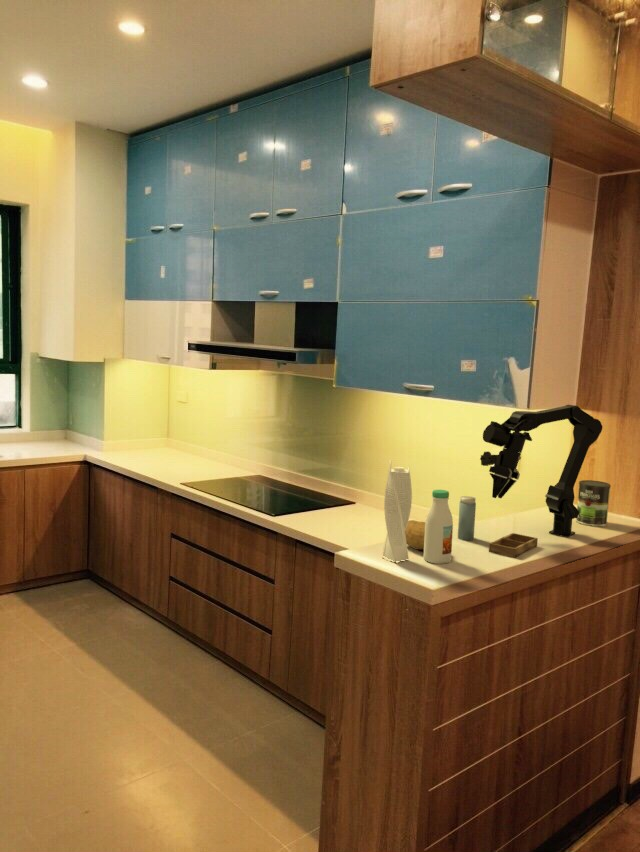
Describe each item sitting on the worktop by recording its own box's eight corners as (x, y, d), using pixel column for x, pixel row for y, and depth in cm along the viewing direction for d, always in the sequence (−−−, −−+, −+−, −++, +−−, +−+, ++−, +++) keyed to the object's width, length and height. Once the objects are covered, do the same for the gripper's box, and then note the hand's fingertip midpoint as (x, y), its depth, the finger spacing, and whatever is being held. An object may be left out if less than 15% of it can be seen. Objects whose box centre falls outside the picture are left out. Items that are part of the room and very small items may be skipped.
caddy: (512, 540, 224) (512, 532, 224) (537, 546, 219) (537, 538, 219) (488, 551, 212) (489, 543, 212) (514, 557, 207) (515, 549, 207)
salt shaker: (462, 535, 229) (464, 495, 228) (476, 538, 226) (479, 498, 224) (454, 538, 225) (457, 497, 224) (469, 541, 222) (471, 500, 221)
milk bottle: (432, 565, 198) (436, 494, 195) (418, 557, 205) (421, 488, 202) (456, 563, 201) (460, 493, 198) (441, 554, 208) (444, 487, 205)
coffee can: (601, 528, 243) (604, 487, 241) (571, 522, 250) (574, 482, 248) (611, 522, 251) (615, 483, 249) (582, 517, 257) (585, 478, 256)
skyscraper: (375, 558, 203) (379, 460, 199) (393, 553, 208) (398, 458, 204) (395, 565, 197) (400, 465, 193) (414, 560, 202) (419, 462, 198)
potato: (414, 540, 222) (415, 514, 221) (446, 552, 211) (448, 525, 210) (390, 544, 217) (391, 518, 216) (422, 557, 205) (423, 530, 204)
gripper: (493, 445, 236) (478, 490, 237) (481, 440, 220) (465, 489, 220) (526, 455, 232) (511, 501, 232) (516, 451, 215) (500, 501, 215)
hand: (496, 497), depth 225 cm, fingers open, 9 cm apart
